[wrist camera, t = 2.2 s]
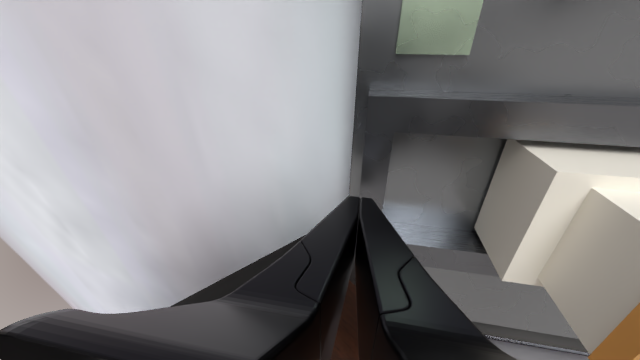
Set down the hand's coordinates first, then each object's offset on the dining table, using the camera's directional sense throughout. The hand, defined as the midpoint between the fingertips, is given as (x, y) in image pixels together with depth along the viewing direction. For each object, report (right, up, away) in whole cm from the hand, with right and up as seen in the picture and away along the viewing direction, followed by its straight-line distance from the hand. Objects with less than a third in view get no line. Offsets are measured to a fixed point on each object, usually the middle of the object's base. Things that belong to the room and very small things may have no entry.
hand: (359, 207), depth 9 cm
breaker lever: (+8, +1, +1) cm, 8 cm away
